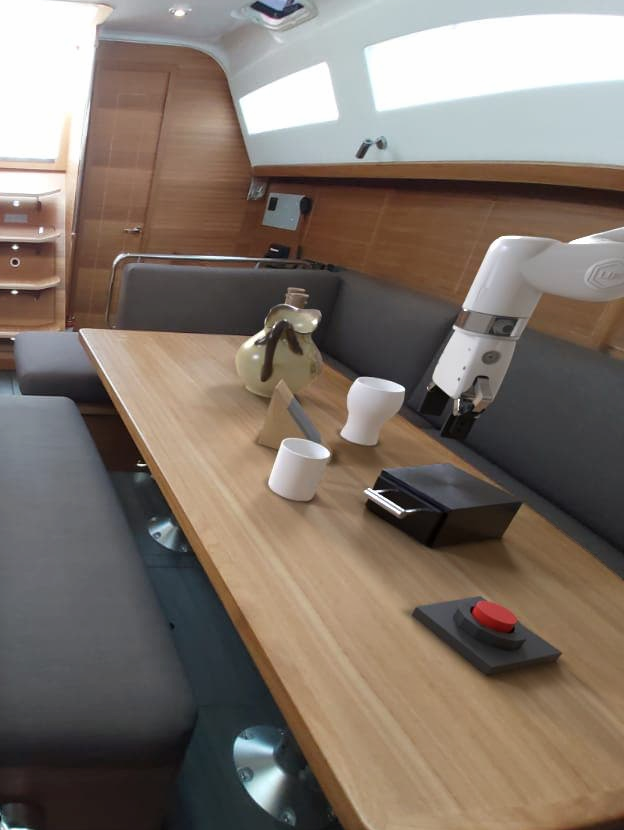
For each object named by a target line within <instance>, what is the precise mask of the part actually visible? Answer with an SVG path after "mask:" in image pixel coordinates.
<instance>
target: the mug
mask: <svg viewBox="0 0 624 830" xmlns="http://www.w3.org/2000/svg"><path fill="white" fill-rule="evenodd" d="M329 457H330V452H329V451H328V450H327V449H326V448H325V447H323V446H321V445H319V444H317V443H314V442H312V441H308V440H304V439H298V438H288V439H284V440H283V441H282V443H281V446H280V449H279V450H278V452H277V454H276V458H275V460H274V464H273V467H272V470H271V472H270V476H269V478H268V487H269V489H270V490H271V491H272V492H274V493H275V494H277V495H278V496H280V497H283V498H285V499H288V500H292V501H296V502H308V501H311V500H312V499H313V498H314V496H315V495H316V492H317V489H318V488H319V485H320V482H321V479H322V477H323V475H324V472H325V469H326V467H327V465H328V464H327V462H328V459H329Z"/></svg>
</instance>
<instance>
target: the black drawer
mask: <svg viewBox="0 0 624 830" xmlns="http://www.w3.org/2000/svg"><path fill="white" fill-rule="evenodd" d="M363 496H365V497H366V498H367V500H366V502H365V504H364V507H366V508H367V509H369V510H370V511H372V512H374V513H375V514H376V515H378V516H380V517H381V518H382V519H384V520H385V521H387V522H389V523H390V524H392V525H393V526H395V527H396V528H398V529H399V530H401V531H402V532H403V533H405V534H407V535H408V536H410V537H411V538H412V539H414V540H415V541H417V542H418V543H419V544H421V545H423V546H424V545H425V546H426V544H429V542H430V540H431V538H432V537H433V535H434V533H435V531H436V529H437V527H438V525H439V524H440V522H441V520H442V518H443V516H444V514H445V513H446V512H445V511H444V510H443V509H441V508H439V507H438V506H436V505H434V504H432V503H431V502H429V501H427V500H426V499H424V498H422V497H421V496H419V495H417V494H415V493H414V492H412V491H410V490H409V489H407V488H405V487H404V486H402V485H400V484H398V483H397V482H395V481H393V480H390V479H389V478H387V477H385V476H384V475H381V476H380V475H377V478H376V479H375V481H374V484H373V486H372V488H370V487H369V488H367V489H365V490H364V491H363Z"/></svg>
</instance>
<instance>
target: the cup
mask: <svg viewBox="0 0 624 830" xmlns="http://www.w3.org/2000/svg"><path fill="white" fill-rule="evenodd" d="M405 393H406V388H405V387H404V386H403V385H401V384H398V383H397V382H393V381H391V380H388V379H384V378H379V377H369V376H360V377H357V378H356V379H355V380H354V382H353V384H352V385H351V386H350V388H349V391H348V393H347V396H346V407H347V412H348V416H347V420H346V423H345V424H344V427H343V428H342V430H341V431H340V432H339V433H340V436H341V437H342V438H343V439H344V440H346V441H348V442H351V443H354V444H358V445H361V446H376V445H377V444H378V441H379V435H380V432H381V430H382V428H383V427H384V425H385V424H386V423H387V422H388V421H389V420H391V419H392V418H393V417H395V415H396V414H398V412H399V411H400V410H401V408H402V406H403V404H404V401H405Z"/></svg>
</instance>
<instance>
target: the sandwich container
mask: <svg viewBox="0 0 624 830" xmlns="http://www.w3.org/2000/svg"><path fill="white" fill-rule="evenodd" d="M288 438H298V439H304V440H308V441H312V442H314V443H317V444H319V445H321V446H323V447H325V448H326V449H327V450H328V451H329V452H330V457H329V459H328V462H327V464H326V465H330V463H331V460H332V457H333V450H332V448H331V447H330V446H329V444H328V442H326V439H324V437H323V436H322V434H321V433H320V432H319V431H318V429H317V427H316V426H315V424H313V422H312V420H311V419H310V417H309V416H308V414H307V413H306V411H305V410H304V409H303V407H302V406H301V404H300V403H299V401H298V400H297V399H296V397H295V395H294V394H292V393H291V391H290V390H289V388H288V387H287V385H286V384H285V382H284V381H283V379H281V381H280V382H279V384H278V385H277V387H276V388H275V390H274V393H273V396H272V398H270V402H269V406H268V409H267V413H266V416H265V418H264V423H263V425H262V428H261V432H260V435H259V438H258V442H257V444H259V445H262V446H265V447H268V448H272V449H275V450H277V451H279V449H280V446H281V443H282V441H283V440H284V439H288Z"/></svg>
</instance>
